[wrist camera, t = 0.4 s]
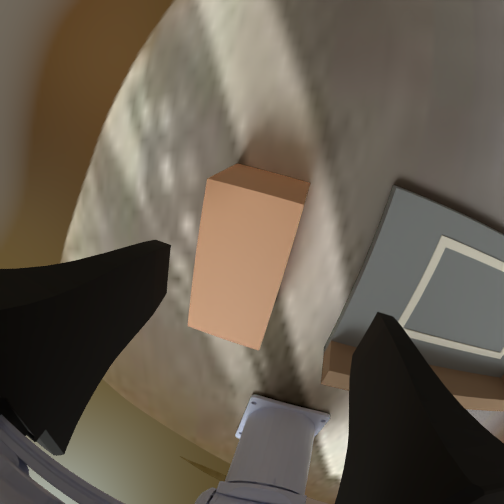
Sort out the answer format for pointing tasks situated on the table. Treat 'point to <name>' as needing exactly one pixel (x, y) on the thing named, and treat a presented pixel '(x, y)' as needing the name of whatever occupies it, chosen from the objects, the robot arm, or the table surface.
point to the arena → (431, 298)
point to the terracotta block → (243, 251)
